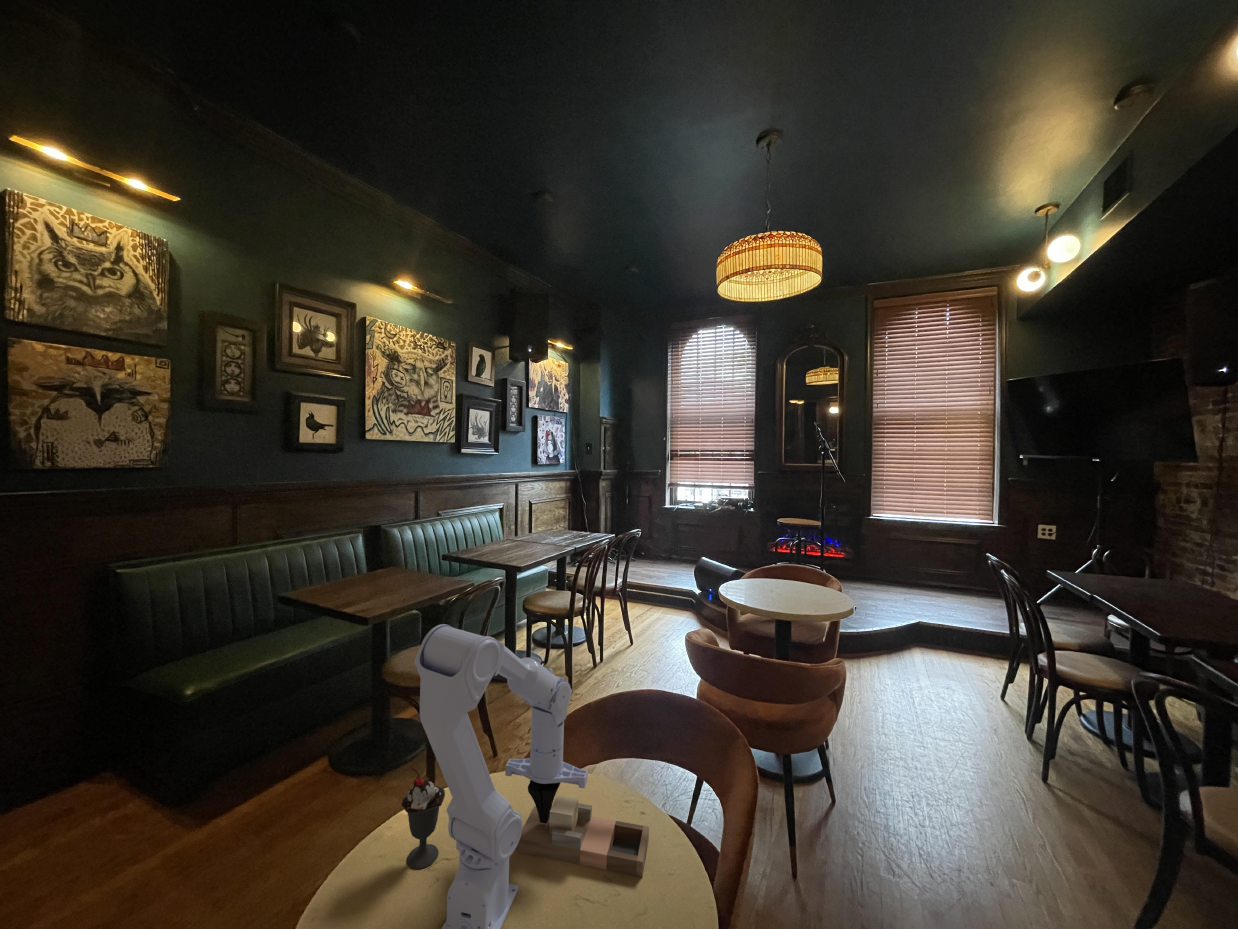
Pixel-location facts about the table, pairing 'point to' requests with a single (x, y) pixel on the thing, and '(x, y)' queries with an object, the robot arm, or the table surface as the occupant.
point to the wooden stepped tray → (588, 842)
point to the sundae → (423, 819)
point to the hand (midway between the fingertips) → (544, 819)
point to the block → (563, 814)
